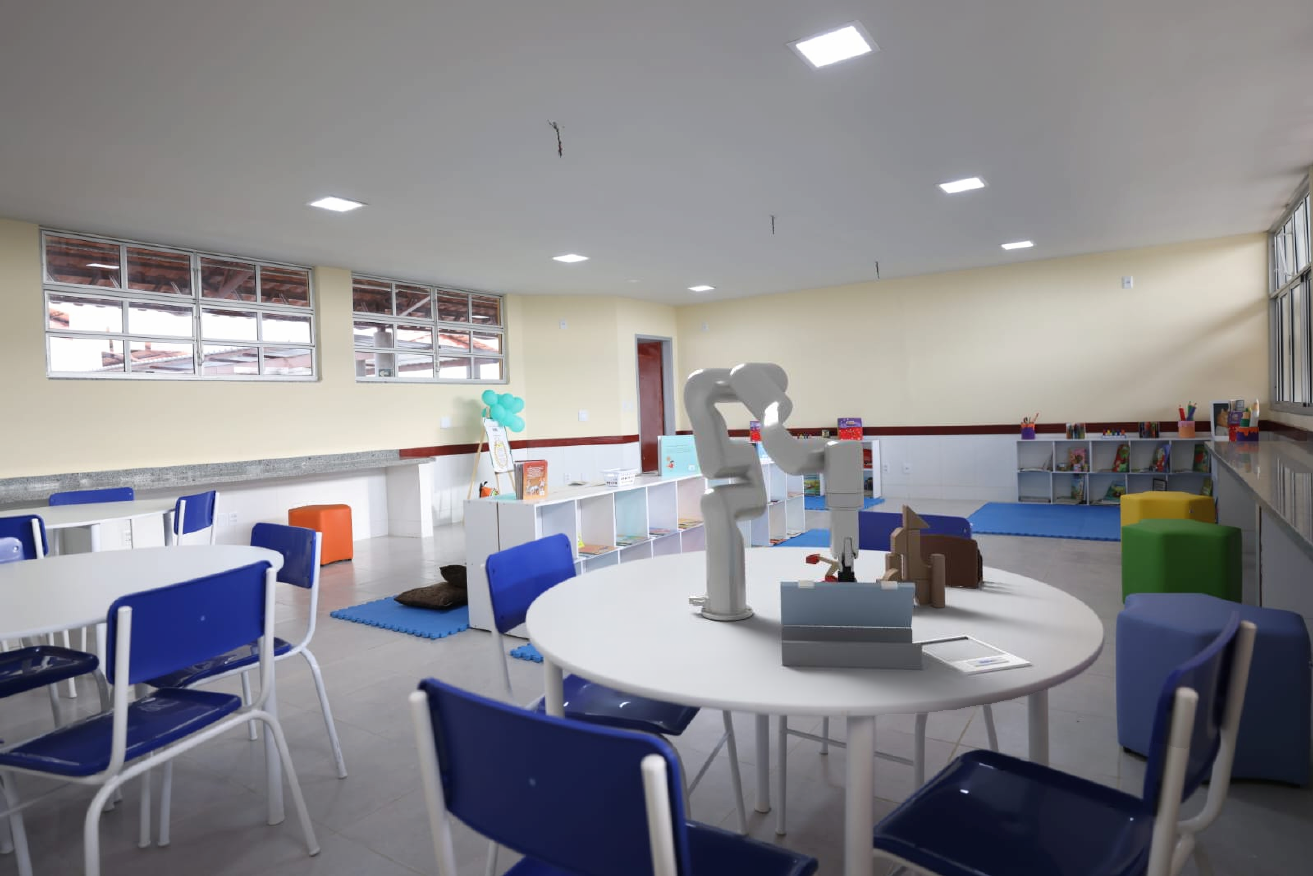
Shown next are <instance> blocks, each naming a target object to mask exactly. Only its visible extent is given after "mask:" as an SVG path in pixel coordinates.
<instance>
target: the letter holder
mask: <svg viewBox="0 0 1313 876" xmlns="http://www.w3.org/2000/svg"><path fill="white" fill-rule="evenodd" d="M978 544H979V543H978V541H977V540H976V539H973V538H968V537H963V536H958V535H951V534H939V533H938V534H937V533H920V558H921V560H922V561H923V563H924V564H926V565H928V566H930V567H931V555H932V554H942V555H944V556H945V587H956V586H962V587H961V588H966V587H970V588H969V589H976V588H977V589H979V587H980V586H981V584H982V583H983V581H984V570H983V569H984V567H983V566H984V565H983V564H984V560H983V559H984V557H983V555H982V554H981V550H980V549H979V545H978ZM902 566H903V555H902ZM902 578H904V572H903V571H902Z"/></svg>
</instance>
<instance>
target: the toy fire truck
mask: <svg viewBox="0 0 1313 876" xmlns="http://www.w3.org/2000/svg"><path fill="white" fill-rule="evenodd" d="M820 562H823V563H826V564H830V565H831V566H829V568H828V569H827V571H826V573H825V574H824V580H821V581H820V582H838V576H835V575H834V574H835V573H836V572H838V571H839V570H838V560H835V559H834V560H833V559H831V558H827V557H825V556H821V554H820V553H814V554H809V555H807V556H805V564H809V565H817V564H819V563H820ZM855 582H858V580H857V578H856V577H855Z"/></svg>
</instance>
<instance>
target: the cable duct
mask: <svg viewBox="0 0 1313 876" xmlns="http://www.w3.org/2000/svg"><path fill="white" fill-rule="evenodd" d="M780 628H781V631H780V632H781V661H782V662H781V663H782V665H781V666H785V667H786V666H787V667H788V666H789V667H790V666H794V667H795V666H797V667H798V666H799V667H824V668H825V667H827V668H828V667H831V668H864V669H866V668H868V669H899V670H900V669H904V670H923V653H922V649H923V645H922V643H921V644H917V643H913V642H914V641H913V629H912V627H911V628H900V627H847V626H794V625H780Z"/></svg>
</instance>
